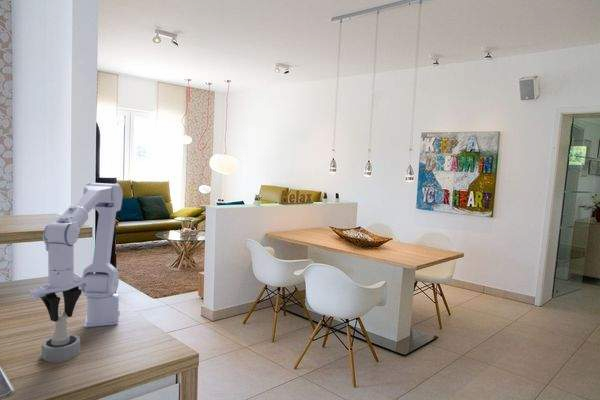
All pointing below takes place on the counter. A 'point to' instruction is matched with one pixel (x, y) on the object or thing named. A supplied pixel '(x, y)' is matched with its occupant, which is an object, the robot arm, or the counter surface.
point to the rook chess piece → (60, 331)
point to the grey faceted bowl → (61, 349)
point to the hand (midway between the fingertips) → (61, 318)
